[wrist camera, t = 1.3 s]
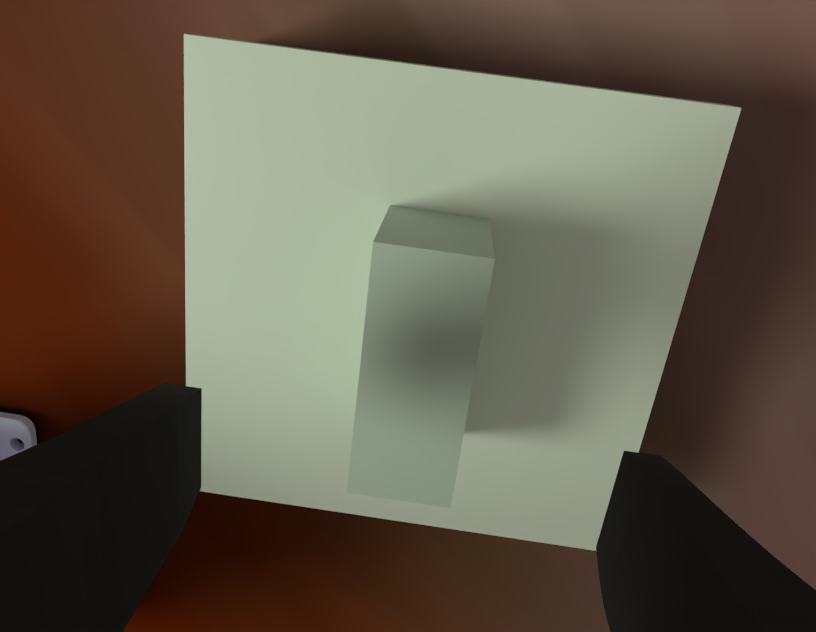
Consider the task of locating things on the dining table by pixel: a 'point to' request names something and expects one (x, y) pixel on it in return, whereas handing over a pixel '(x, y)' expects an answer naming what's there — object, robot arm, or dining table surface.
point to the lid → (432, 282)
